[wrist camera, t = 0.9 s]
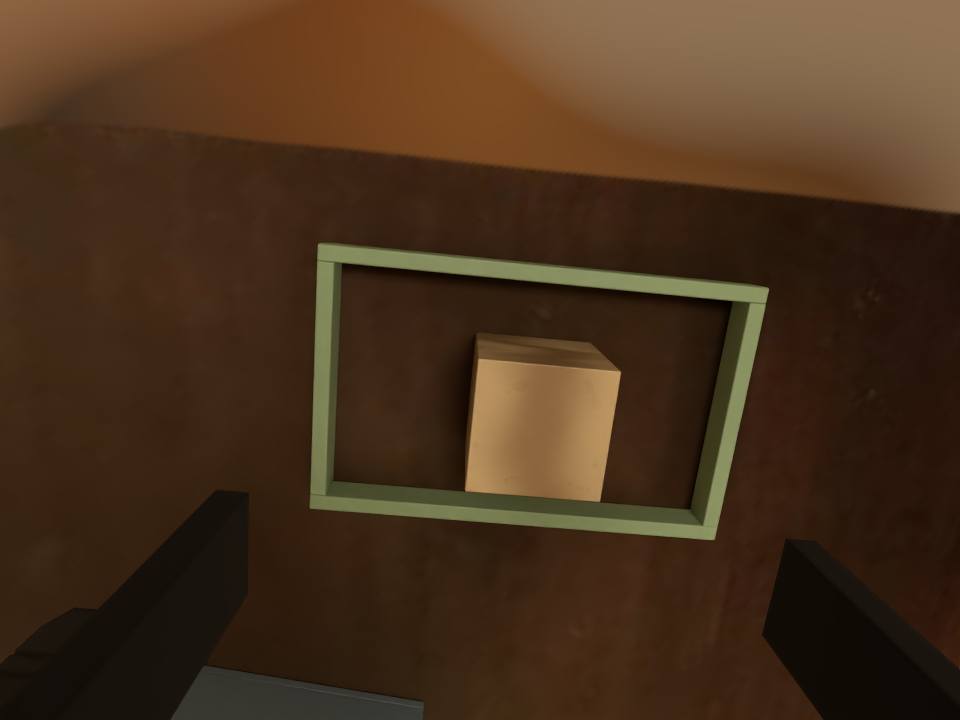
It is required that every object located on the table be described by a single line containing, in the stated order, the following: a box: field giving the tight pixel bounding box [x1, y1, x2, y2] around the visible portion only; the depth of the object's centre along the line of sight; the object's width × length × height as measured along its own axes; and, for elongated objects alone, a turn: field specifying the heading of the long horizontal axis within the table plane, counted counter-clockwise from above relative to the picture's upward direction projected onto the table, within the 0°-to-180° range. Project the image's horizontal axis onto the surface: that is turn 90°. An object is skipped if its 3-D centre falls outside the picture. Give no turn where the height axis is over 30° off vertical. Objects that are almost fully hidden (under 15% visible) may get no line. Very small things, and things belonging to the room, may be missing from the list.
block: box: [465, 332, 621, 502], centre depth 27 cm, size 6×6×6 cm
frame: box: [310, 242, 769, 540], centre depth 29 cm, size 22×14×2 cm, turn 84°
